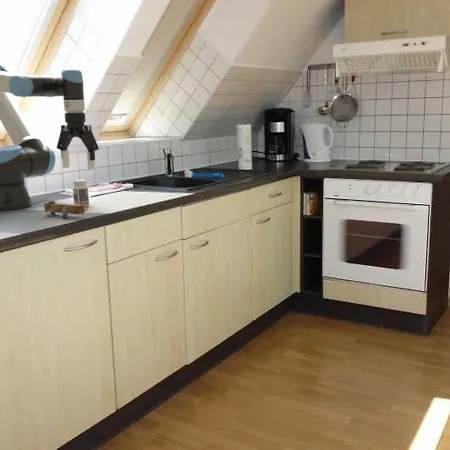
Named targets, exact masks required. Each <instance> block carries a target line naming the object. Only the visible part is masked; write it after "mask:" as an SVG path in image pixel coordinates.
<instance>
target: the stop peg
mask: <svg viewBox="0 0 450 450" xmlns="http://www.w3.org/2000/svg"><path fill="white" fill-rule="evenodd" d="M61 214H62V219H64V220H67V219H69V216H68V214H67V207H62V213H61Z"/></svg>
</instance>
